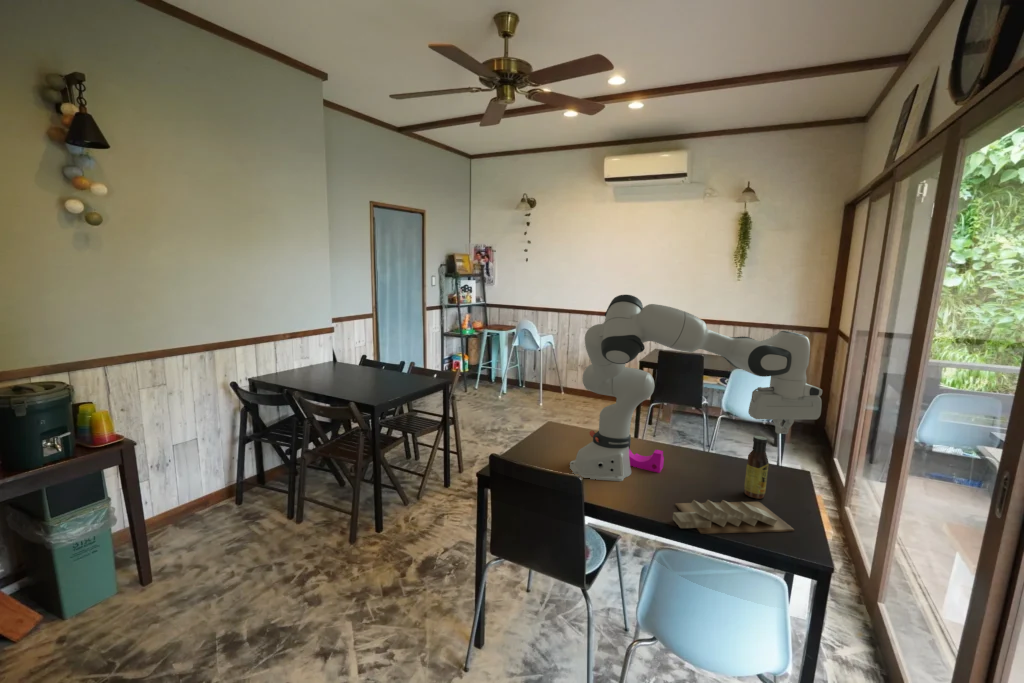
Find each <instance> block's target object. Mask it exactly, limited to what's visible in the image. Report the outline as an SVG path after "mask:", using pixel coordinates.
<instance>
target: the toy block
mask: <svg viewBox="0 0 1024 683" xmlns="http://www.w3.org/2000/svg"><path fill="white" fill-rule="evenodd" d="M629 460H630V467H632V466H633V467H634V468H636V467H637V469H641V470H645V471H650V472H654V473H658V474H660V473H661V472H662V471H663V470H662V469H663V468H664V461H665V456H664V451H663V450H660V449H654V451H653V453H652V454H651V455H647V456H645V455H641V454H639V453H637V452H636V453H635V454H634V453H633V452H632V450H631V448H630V449H629Z"/></svg>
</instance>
